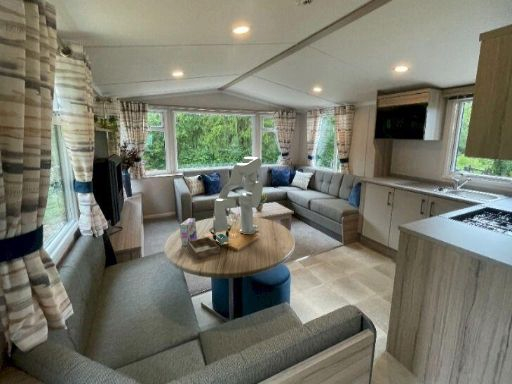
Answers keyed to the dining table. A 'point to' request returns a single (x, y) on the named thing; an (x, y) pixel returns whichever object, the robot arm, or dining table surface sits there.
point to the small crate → (224, 239)
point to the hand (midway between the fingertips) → (221, 238)
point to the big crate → (203, 247)
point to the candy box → (188, 231)
